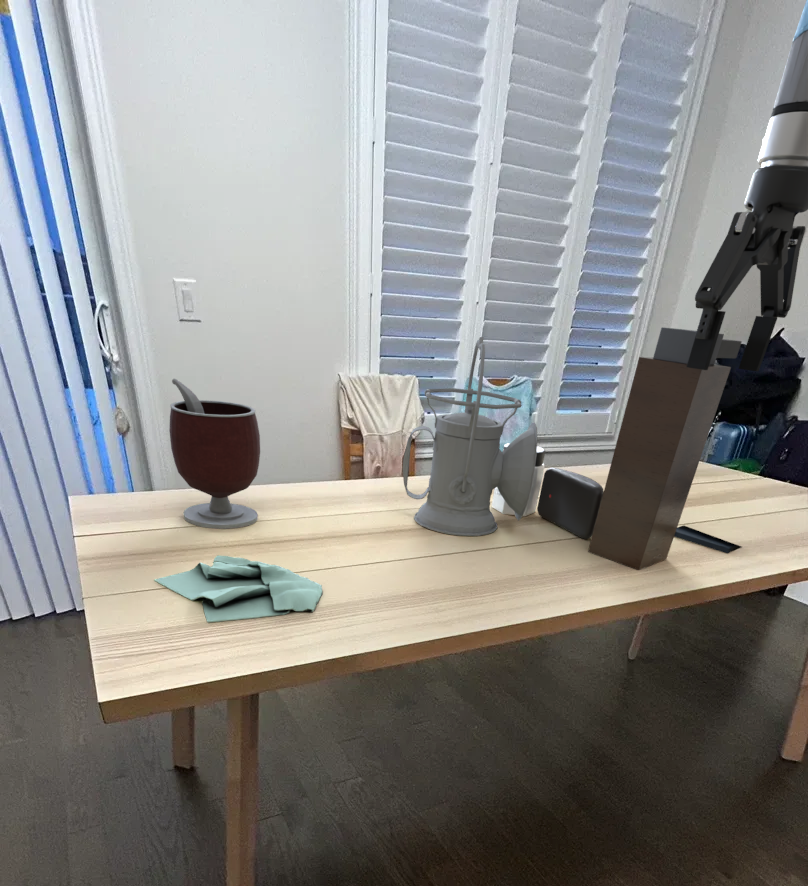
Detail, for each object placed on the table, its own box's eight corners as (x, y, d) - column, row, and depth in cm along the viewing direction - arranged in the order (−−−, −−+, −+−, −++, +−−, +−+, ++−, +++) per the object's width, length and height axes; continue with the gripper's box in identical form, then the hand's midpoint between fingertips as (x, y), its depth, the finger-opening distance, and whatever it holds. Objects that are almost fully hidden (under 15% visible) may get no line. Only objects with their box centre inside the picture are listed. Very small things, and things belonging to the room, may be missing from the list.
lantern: (522, 547, 110) (562, 349, 93) (396, 534, 109) (414, 332, 93) (508, 511, 128) (539, 339, 111) (399, 500, 127) (415, 326, 110)
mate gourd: (279, 518, 111) (276, 391, 100) (220, 536, 101) (210, 397, 90) (215, 498, 117) (206, 376, 106) (154, 513, 107) (136, 380, 96)
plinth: (616, 542, 117) (669, 357, 101) (666, 559, 112) (731, 367, 95) (587, 551, 111) (638, 356, 95) (638, 570, 106) (702, 366, 89)
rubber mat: (702, 522, 134) (704, 518, 134) (759, 539, 128) (761, 534, 127) (668, 534, 125) (669, 529, 124) (727, 553, 118) (729, 548, 117)
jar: (485, 504, 131) (494, 442, 124) (518, 503, 134) (530, 442, 127) (506, 517, 124) (518, 453, 117) (541, 516, 127) (555, 453, 120)
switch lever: (709, 360, 106) (718, 332, 104) (745, 365, 103) (755, 336, 100) (652, 358, 94) (661, 327, 91) (690, 364, 90) (700, 332, 88)
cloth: (335, 617, 80) (335, 599, 79) (151, 625, 74) (148, 606, 73) (308, 558, 96) (308, 543, 95) (155, 561, 90) (153, 544, 89)
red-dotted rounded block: (604, 540, 118) (618, 488, 112) (585, 542, 116) (598, 489, 111) (551, 513, 129) (562, 465, 124) (533, 514, 128) (543, 465, 122)
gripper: (804, 187, 85) (744, 367, 97) (704, 150, 71) (647, 364, 83) (864, 184, 80) (792, 374, 92) (768, 144, 67) (698, 372, 79)
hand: (723, 369), depth 88 cm, fingers open, 13 cm apart
